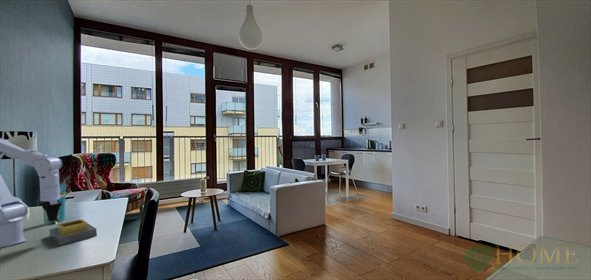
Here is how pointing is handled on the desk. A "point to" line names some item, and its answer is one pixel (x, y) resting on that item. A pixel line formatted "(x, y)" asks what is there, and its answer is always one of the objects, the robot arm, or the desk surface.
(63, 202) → the tube
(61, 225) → the grey and yellow block
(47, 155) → the robot arm
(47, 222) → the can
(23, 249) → the desk surface
